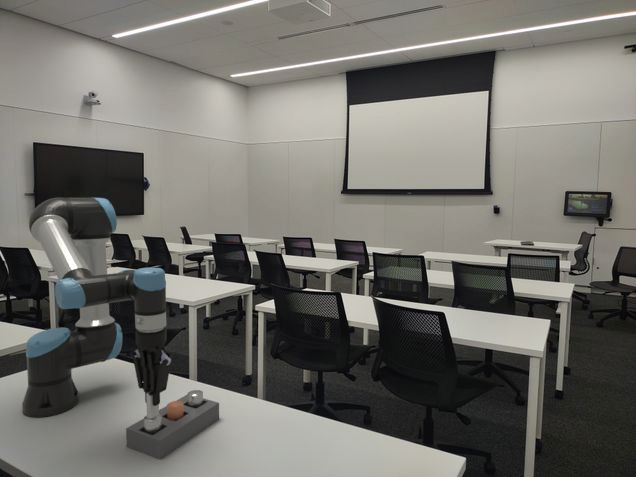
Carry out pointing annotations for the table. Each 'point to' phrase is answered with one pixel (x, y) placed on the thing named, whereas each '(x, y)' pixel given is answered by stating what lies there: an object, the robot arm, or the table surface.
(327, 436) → the table surface
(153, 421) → the steel button near
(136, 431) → the button console
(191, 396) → the steel button far
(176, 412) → the terracotta button
